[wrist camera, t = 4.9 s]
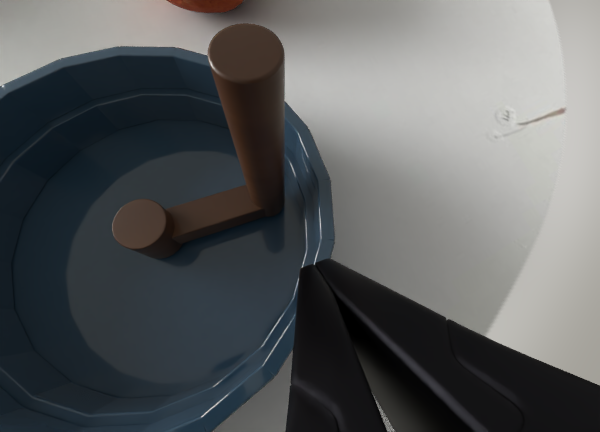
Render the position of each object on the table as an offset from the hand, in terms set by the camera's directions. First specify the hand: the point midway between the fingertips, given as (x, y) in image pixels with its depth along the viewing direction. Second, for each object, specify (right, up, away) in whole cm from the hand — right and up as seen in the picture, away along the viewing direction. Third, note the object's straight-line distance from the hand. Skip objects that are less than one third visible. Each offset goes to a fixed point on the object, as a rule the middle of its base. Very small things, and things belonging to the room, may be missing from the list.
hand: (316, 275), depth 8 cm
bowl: (-8, 0, +8) cm, 12 cm away
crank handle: (-5, +1, +8) cm, 10 cm away
